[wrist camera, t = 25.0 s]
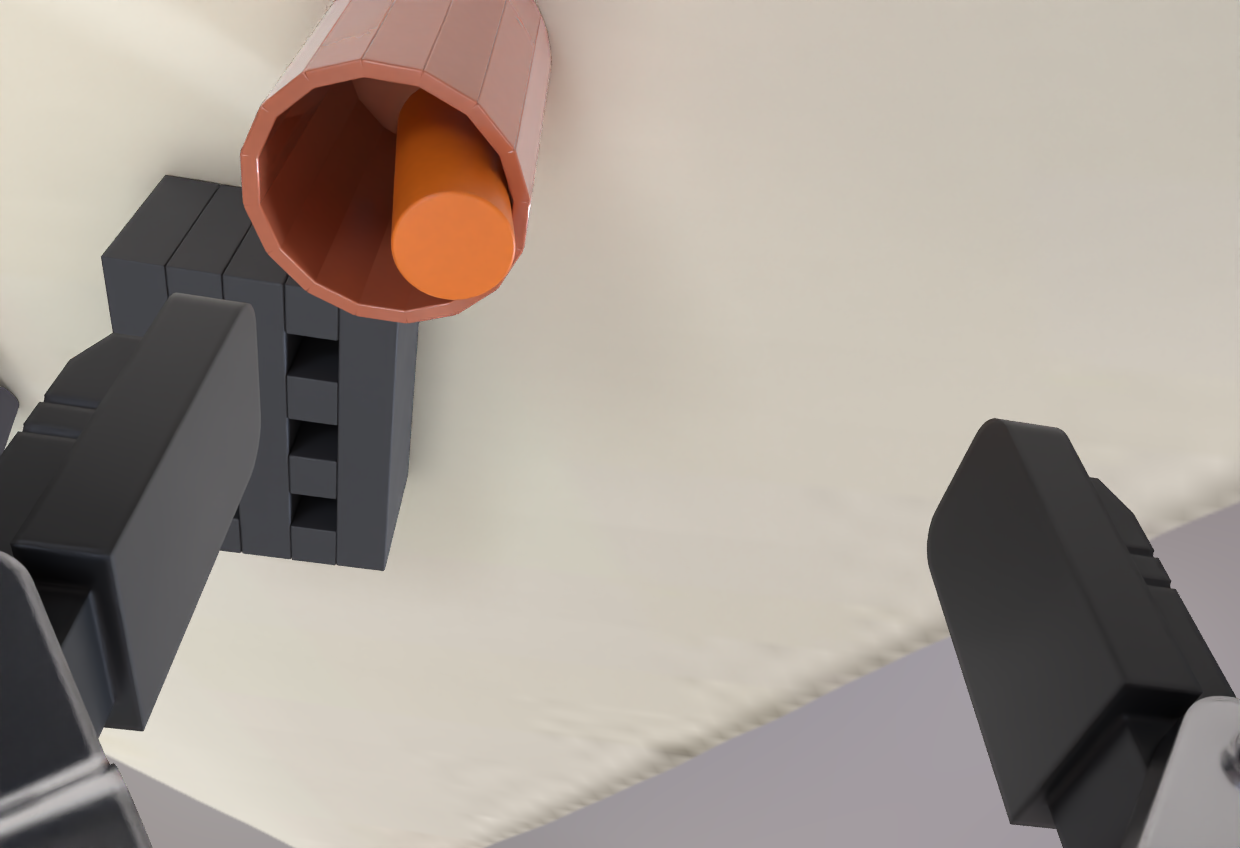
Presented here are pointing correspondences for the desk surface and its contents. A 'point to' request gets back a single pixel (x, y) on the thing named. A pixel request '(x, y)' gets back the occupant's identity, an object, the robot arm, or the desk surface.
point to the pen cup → (386, 137)
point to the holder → (283, 378)
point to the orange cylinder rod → (448, 203)
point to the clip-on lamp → (6, 415)
